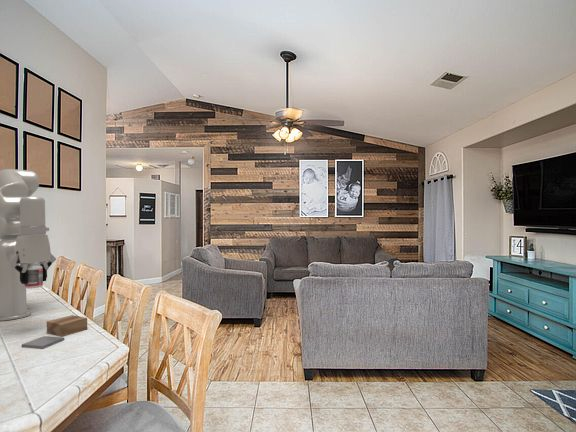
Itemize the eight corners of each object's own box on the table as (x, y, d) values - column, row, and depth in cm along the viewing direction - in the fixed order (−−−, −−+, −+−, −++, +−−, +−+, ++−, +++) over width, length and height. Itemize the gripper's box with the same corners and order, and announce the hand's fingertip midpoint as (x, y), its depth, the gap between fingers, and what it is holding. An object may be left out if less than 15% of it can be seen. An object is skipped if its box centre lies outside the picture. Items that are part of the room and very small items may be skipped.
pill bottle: (43, 287, 130) (42, 260, 130) (24, 289, 127) (23, 261, 127) (43, 285, 135) (42, 258, 135) (25, 287, 132) (24, 259, 132)
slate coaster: (21, 346, 114) (21, 344, 114) (44, 338, 122) (44, 336, 122) (42, 348, 112) (42, 346, 112) (64, 340, 120) (64, 337, 120)
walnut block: (46, 332, 128) (46, 321, 128) (72, 325, 136) (72, 315, 136) (61, 336, 124) (61, 324, 124) (87, 329, 132) (87, 317, 132)
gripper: (52, 230, 140) (53, 277, 141) (-1, 232, 125) (0, 285, 126) (63, 230, 137) (64, 279, 137) (10, 232, 122) (11, 287, 122)
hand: (33, 281), depth 131 cm, fingers closed on pill bottle, 5 cm apart
